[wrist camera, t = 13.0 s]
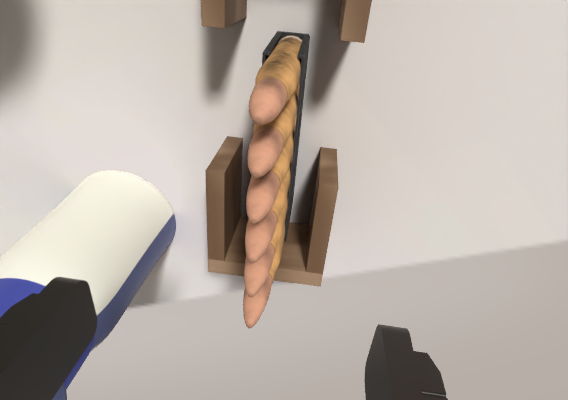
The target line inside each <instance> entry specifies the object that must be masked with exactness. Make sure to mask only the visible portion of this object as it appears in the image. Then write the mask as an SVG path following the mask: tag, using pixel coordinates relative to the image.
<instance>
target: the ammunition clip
mask: <svg viewBox="0 0 568 400" xmlns="http://www.w3.org/2000/svg"><path fill="white" fill-rule="evenodd" d="M309 40H310V36H309V34H301V33H291V32H280V31H278V32H277V33H276V34H275V36H274V37H273V38H272V40H271V41H270V43H269V44H268V46H267V47H266V49H265V50H264V52H263V59H262V67H261V68H260V70H259V71H258V74H257V76H256V85H255V87H254V90H253V92H252V94H251V97H250V101H249V113H250V117H251V119H252V121H253V122H254V132H253V135H252V140H251V142H250V145H249V149H248V168H249V171H250V173H251V179H250V184H249V187H248V191H247V198H246V209H247V215H248V218H249V219H248V223H247V227H246V234H245V248H246V260H245V268H244V283H245V291H244V301H243V303H244V304H243V310H244V319H245V323H246V326H247V327H248V328H251V327H253V326H254V325H255V324H256V322H257V321H258V320H259V318H260V316H261V314H262V312H263V310H264V308H265V306H266V303H267V301H268V298H269V294H270V290H271V285H272V283H273V279H274V275H275V272H276V270H277V268H278V266H279V263H280V260H281V254H282V248H283V243H284V241H286V240H287V234H288V227H289V221H290V215H291V209H292V202H293V195H294V185H295V176H296V166H297V156H298V147H299V137H300V127H301V117H302V108H303V98H304V88H305V79H306V69H307V59H308V49H309Z"/></svg>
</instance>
